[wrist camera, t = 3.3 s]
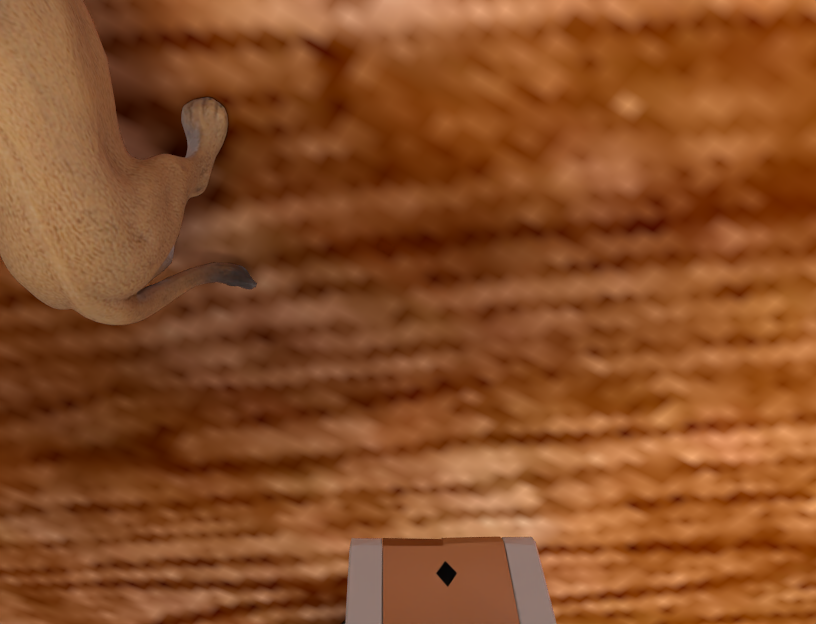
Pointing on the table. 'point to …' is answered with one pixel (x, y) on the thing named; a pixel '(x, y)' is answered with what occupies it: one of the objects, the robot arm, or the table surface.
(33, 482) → the table surface
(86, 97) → the lion figurine
